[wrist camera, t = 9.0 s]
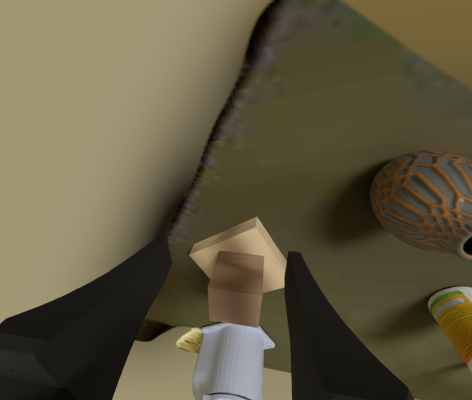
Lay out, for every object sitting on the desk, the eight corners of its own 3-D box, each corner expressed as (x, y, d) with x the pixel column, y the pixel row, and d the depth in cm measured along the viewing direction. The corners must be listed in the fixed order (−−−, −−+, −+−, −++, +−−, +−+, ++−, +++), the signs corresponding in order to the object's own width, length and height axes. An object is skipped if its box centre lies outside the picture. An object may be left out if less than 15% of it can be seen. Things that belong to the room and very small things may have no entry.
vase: (417, 219, 21) (499, 299, 13) (346, 203, 21) (387, 273, 14) (468, 151, 17) (619, 206, 10) (382, 133, 18) (465, 173, 10)
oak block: (233, 286, 30) (230, 302, 28) (195, 241, 27) (188, 255, 25) (293, 267, 27) (294, 284, 25) (257, 214, 24) (255, 227, 22)
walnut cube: (220, 280, 26) (209, 320, 22) (219, 250, 24) (207, 287, 20) (260, 286, 26) (258, 327, 22) (264, 255, 23) (262, 295, 19)
